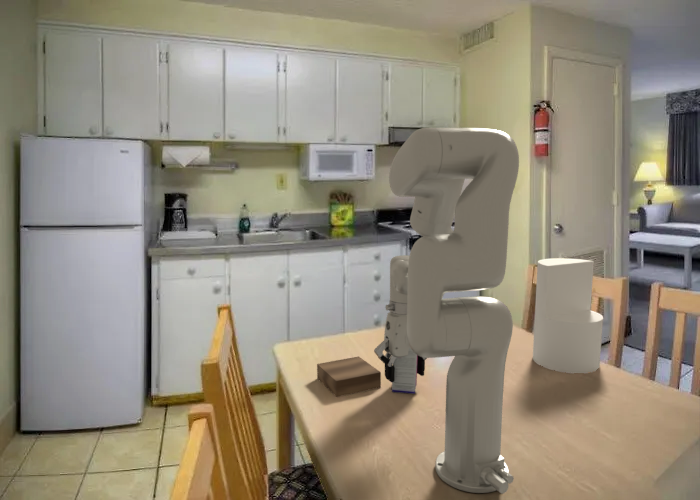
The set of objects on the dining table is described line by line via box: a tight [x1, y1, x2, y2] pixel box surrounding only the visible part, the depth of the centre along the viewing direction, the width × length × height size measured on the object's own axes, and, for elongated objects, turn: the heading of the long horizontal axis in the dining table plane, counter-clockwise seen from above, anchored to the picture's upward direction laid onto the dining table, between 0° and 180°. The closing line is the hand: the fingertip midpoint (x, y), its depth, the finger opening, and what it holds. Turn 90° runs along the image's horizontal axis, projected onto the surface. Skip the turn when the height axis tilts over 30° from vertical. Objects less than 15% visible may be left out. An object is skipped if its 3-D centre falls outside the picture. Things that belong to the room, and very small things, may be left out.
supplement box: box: [391, 348, 418, 395], centre depth 121 cm, size 6×6×12 cm
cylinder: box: [532, 257, 604, 374], centre depth 137 cm, size 17×17×28 cm
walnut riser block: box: [316, 356, 382, 398], centre depth 125 cm, size 12×12×4 cm
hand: (404, 376), depth 122 cm, fingers closed on supplement box, 7 cm apart
